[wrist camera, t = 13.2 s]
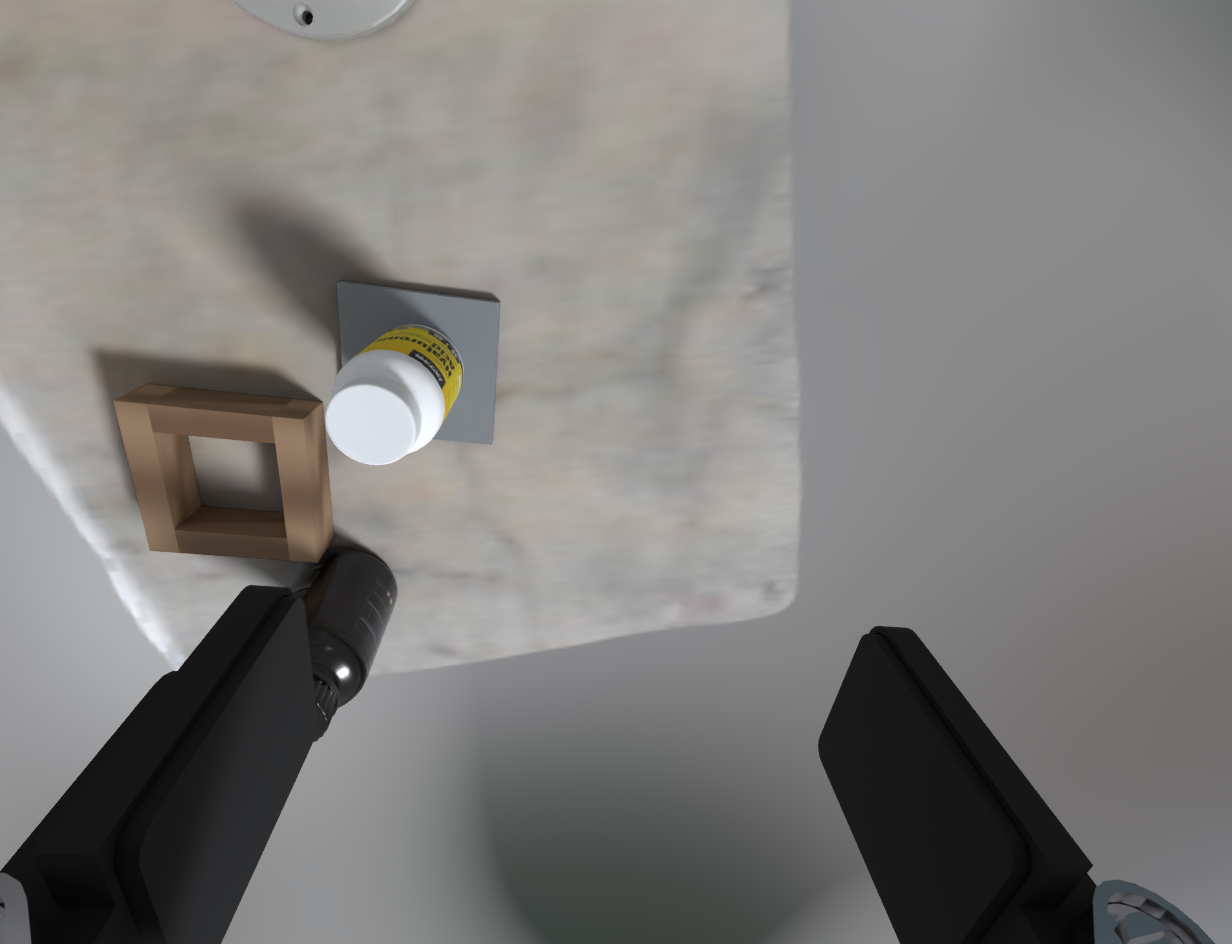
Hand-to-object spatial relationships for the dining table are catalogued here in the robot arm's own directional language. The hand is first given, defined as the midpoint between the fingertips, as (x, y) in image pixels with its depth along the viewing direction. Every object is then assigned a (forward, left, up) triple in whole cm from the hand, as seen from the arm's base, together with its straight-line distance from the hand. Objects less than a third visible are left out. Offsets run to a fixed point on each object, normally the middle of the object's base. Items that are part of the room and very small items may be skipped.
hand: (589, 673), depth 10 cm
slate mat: (+4, -9, -28) cm, 30 cm away
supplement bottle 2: (+21, -14, -28) cm, 38 cm away
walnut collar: (+12, -20, -28) cm, 37 cm away
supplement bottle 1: (+4, -9, -28) cm, 30 cm away
